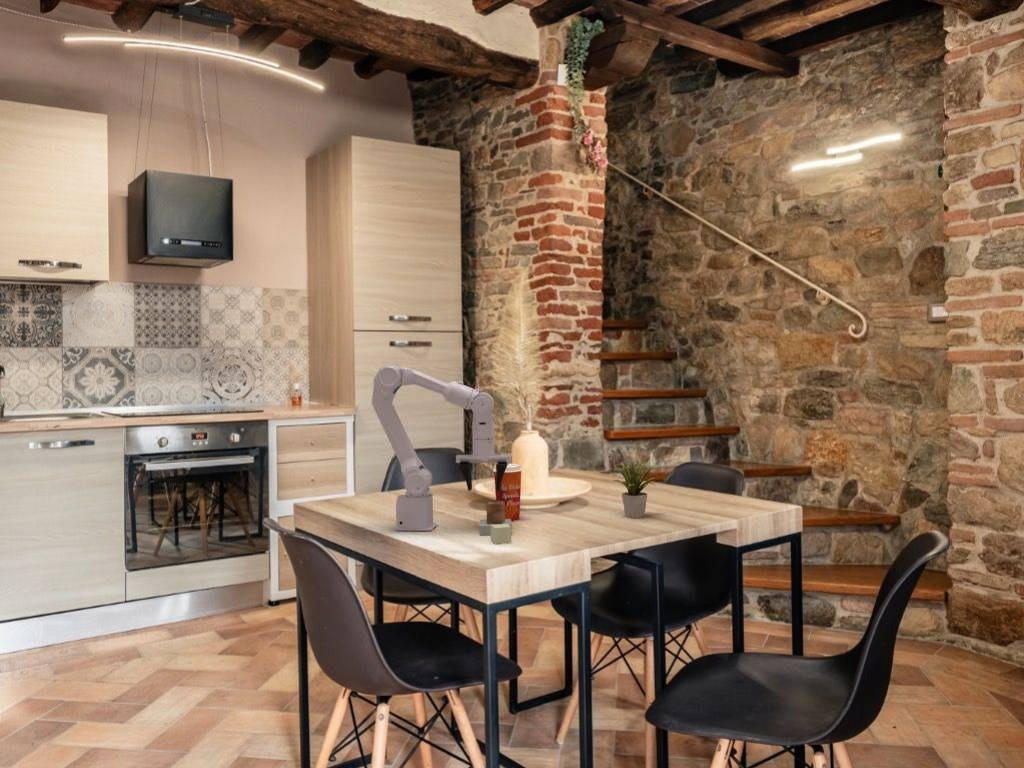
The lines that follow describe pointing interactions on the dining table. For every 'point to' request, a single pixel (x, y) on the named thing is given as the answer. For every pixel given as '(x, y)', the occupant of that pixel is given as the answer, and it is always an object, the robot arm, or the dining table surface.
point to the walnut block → (495, 512)
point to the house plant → (634, 489)
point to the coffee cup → (510, 490)
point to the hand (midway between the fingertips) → (484, 490)
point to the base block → (486, 529)
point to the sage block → (500, 533)
